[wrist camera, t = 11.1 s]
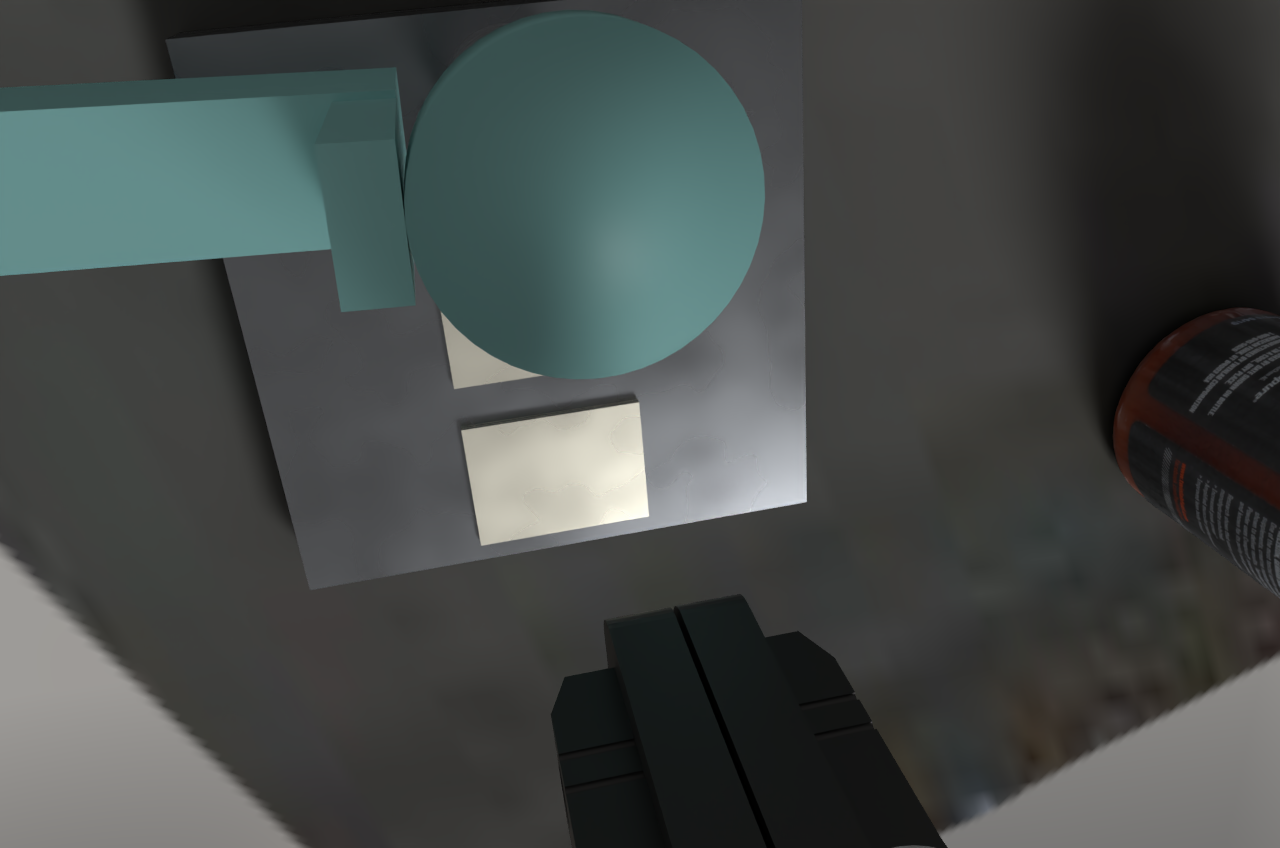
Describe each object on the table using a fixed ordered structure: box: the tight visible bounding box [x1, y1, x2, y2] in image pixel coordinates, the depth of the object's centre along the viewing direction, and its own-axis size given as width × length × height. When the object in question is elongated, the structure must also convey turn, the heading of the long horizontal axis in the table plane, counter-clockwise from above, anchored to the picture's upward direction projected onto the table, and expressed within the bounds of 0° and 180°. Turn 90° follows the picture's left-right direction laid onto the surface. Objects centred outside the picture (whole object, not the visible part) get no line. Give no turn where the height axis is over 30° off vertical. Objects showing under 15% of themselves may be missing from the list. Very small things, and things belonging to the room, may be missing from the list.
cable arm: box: [0, 10, 765, 379], centre depth 13 cm, size 4×15×6 cm, turn 91°
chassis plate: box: [166, 0, 807, 590], centre depth 19 cm, size 12×12×10 cm
